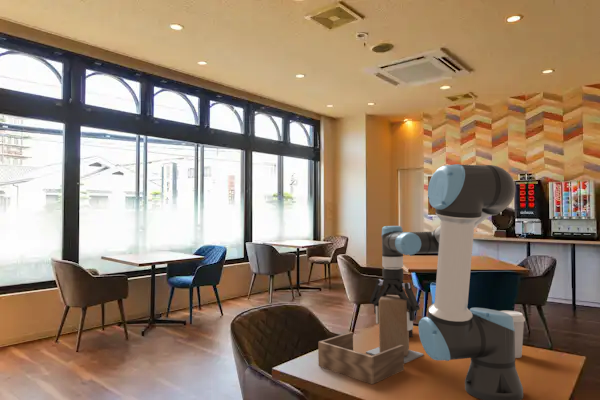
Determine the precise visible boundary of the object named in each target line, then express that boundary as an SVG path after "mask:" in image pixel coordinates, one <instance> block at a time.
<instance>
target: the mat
mask: <svg viewBox="0 0 600 400" xmlns="http://www.w3.org/2000/svg"><path fill="white" fill-rule="evenodd" d="M378 353H380V346H377V347H375V348H373V349H369V350H367V351H365V354H366V355H369V356H372V355H375V354H378ZM422 356H424V353H422V352H419V351H414V350H412V349H409V352H408V356H406V357H404V365H405V364H406V363H409V362H411V361H413V360H416V359H418V358H420V357H422Z"/></svg>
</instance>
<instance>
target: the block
mask: <svg viewBox="0 0 600 400" xmlns="http://www.w3.org/2000/svg"><path fill="white" fill-rule="evenodd" d="M407 311H408V309H407V300H404V299H401V298H400V297H399V296H398V295H397V294H387V295H385V296H381V297H380V299H379V324H378V327H379V328H378V331H379V332H378V333H379V335H378V336H379V338H378V339H379V340H378V341H379V347H380V352H383V351H385V350H388V349H391V348H393V347H396V346H399V345H404V357H406V356H408V352H409V350H410V337H409V331H408V330H407Z"/></svg>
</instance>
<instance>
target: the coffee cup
mask: <svg viewBox="0 0 600 400" xmlns="http://www.w3.org/2000/svg"><path fill="white" fill-rule="evenodd" d="M500 311H501V312H504V313H507V314H509V315H510V316H512V318H513V320H514V329H515V331H514V332H515V359H519V358H522V355H523V341H524V324H525V322H526V318H525V315H524V314H523V313H522V312H519V311H515V310H500Z"/></svg>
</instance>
